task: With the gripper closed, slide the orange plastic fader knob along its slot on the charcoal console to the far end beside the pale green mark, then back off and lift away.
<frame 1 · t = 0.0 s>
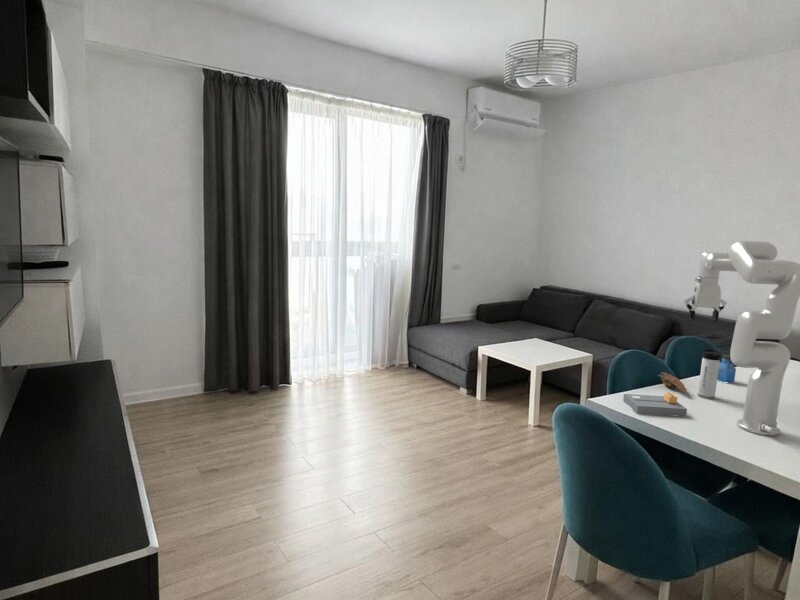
hand: (702, 320, 220), 31 cm above the table, tool pointing down, fingers open, 9 cm apart
fader knob: (670, 397, 195), point 5 cm above the table, slide at 0.0 cm
travel mug: (705, 396, 214), on the table
console: (653, 408, 196), on the table
bird sculpture: (671, 388, 224), on the table
perfume bottle: (723, 381, 240), on the table
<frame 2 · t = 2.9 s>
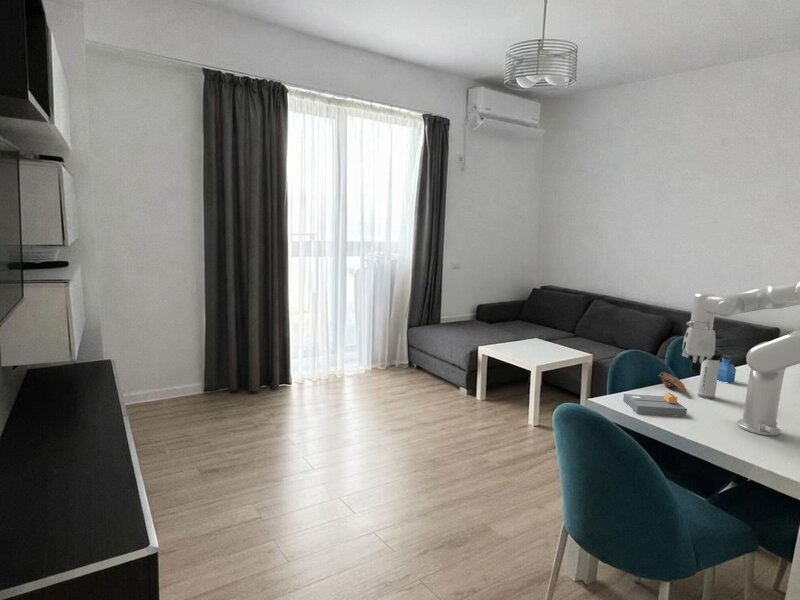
hand: (694, 372, 193), 15 cm above the table, tool pointing down, fingers closed
nothing on the table moved.
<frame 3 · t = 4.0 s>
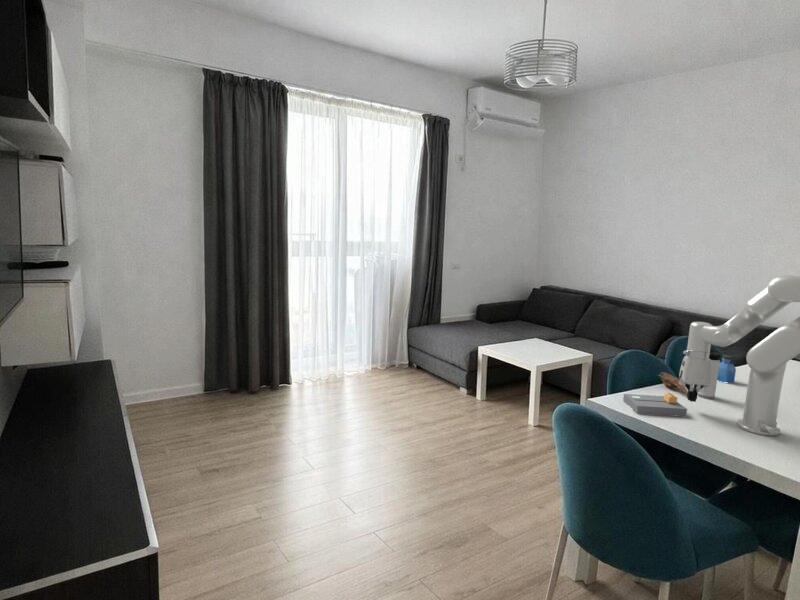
hand: (691, 400, 195), 4 cm above the table, tool pointing down, fingers closed
nothing on the table moved.
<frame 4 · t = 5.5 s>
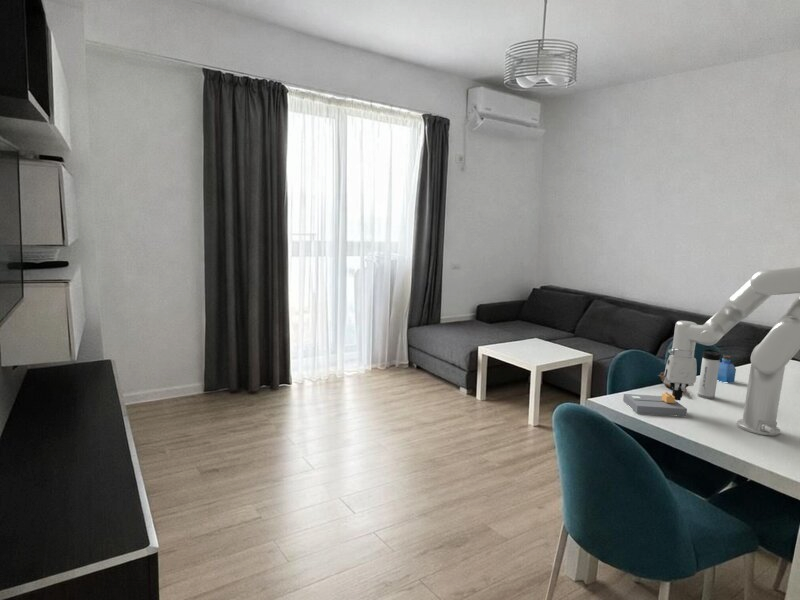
hand: (676, 399, 195), 4 cm above the table, tool pointing down, fingers closed
fader knob: (668, 397, 195), point 5 cm above the table, slide at 0.9 cm, touching gripper
everything else where it was.
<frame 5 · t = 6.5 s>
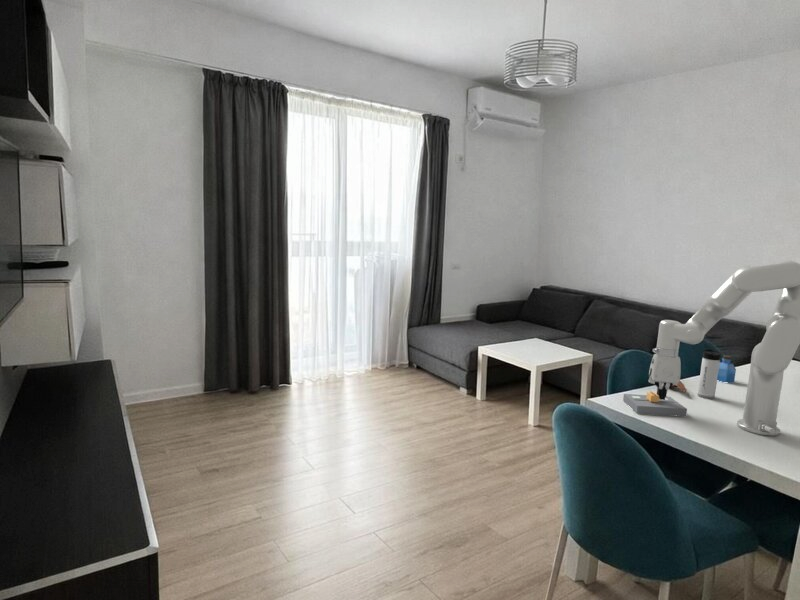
hand: (661, 398, 196), 4 cm above the table, tool pointing down, fingers closed
fader knob: (652, 396, 196), point 5 cm above the table, slide at 6.8 cm, touching gripper
everything else where it was.
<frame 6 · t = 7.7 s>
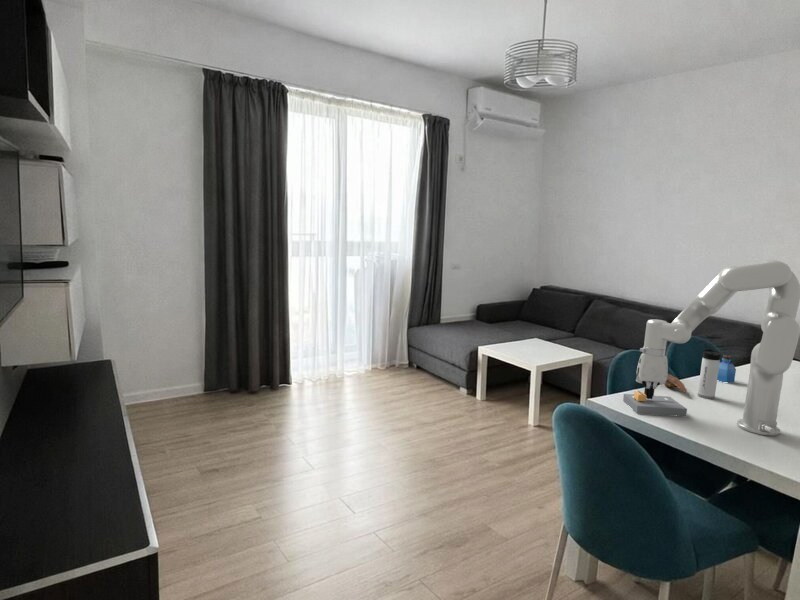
hand: (648, 397, 196), 4 cm above the table, tool pointing down, fingers closed
fader knob: (640, 395, 196), point 5 cm above the table, slide at 11.5 cm, touching gripper
everything else where it was.
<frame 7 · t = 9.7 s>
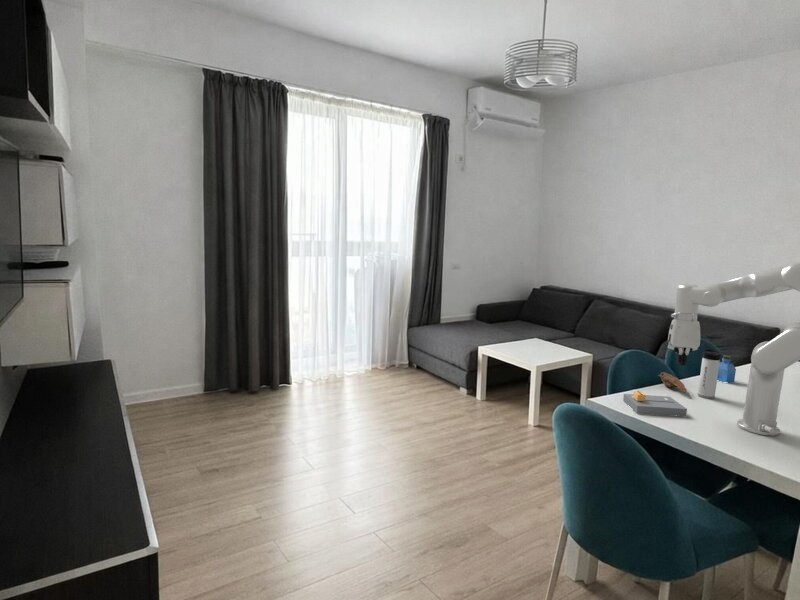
hand: (681, 364, 193), 18 cm above the table, tool pointing down, fingers closed
fader knob: (639, 395, 196), point 5 cm above the table, slide at 11.8 cm
everything else where it was.
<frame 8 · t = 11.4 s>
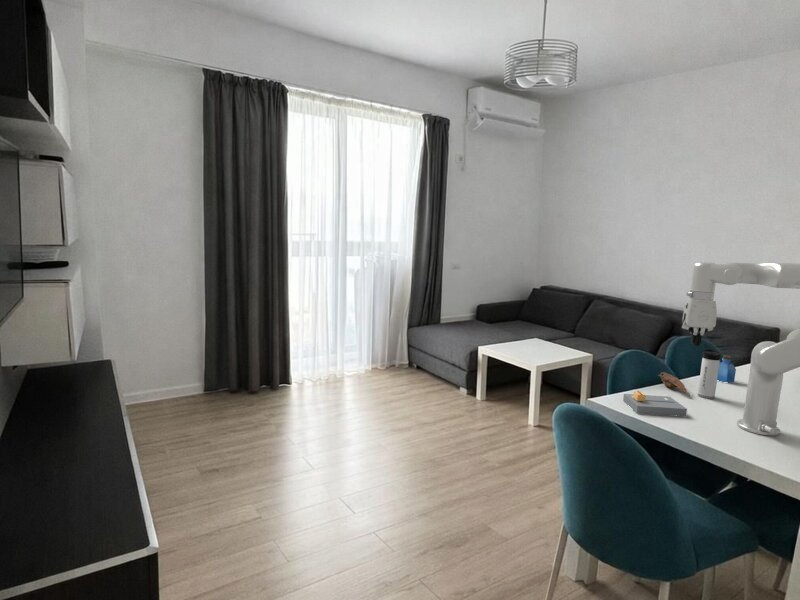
hand: (695, 345, 187), 27 cm above the table, tool pointing down, fingers closed
nothing on the table moved.
at the end: fader knob slide at 11.8 cm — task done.
